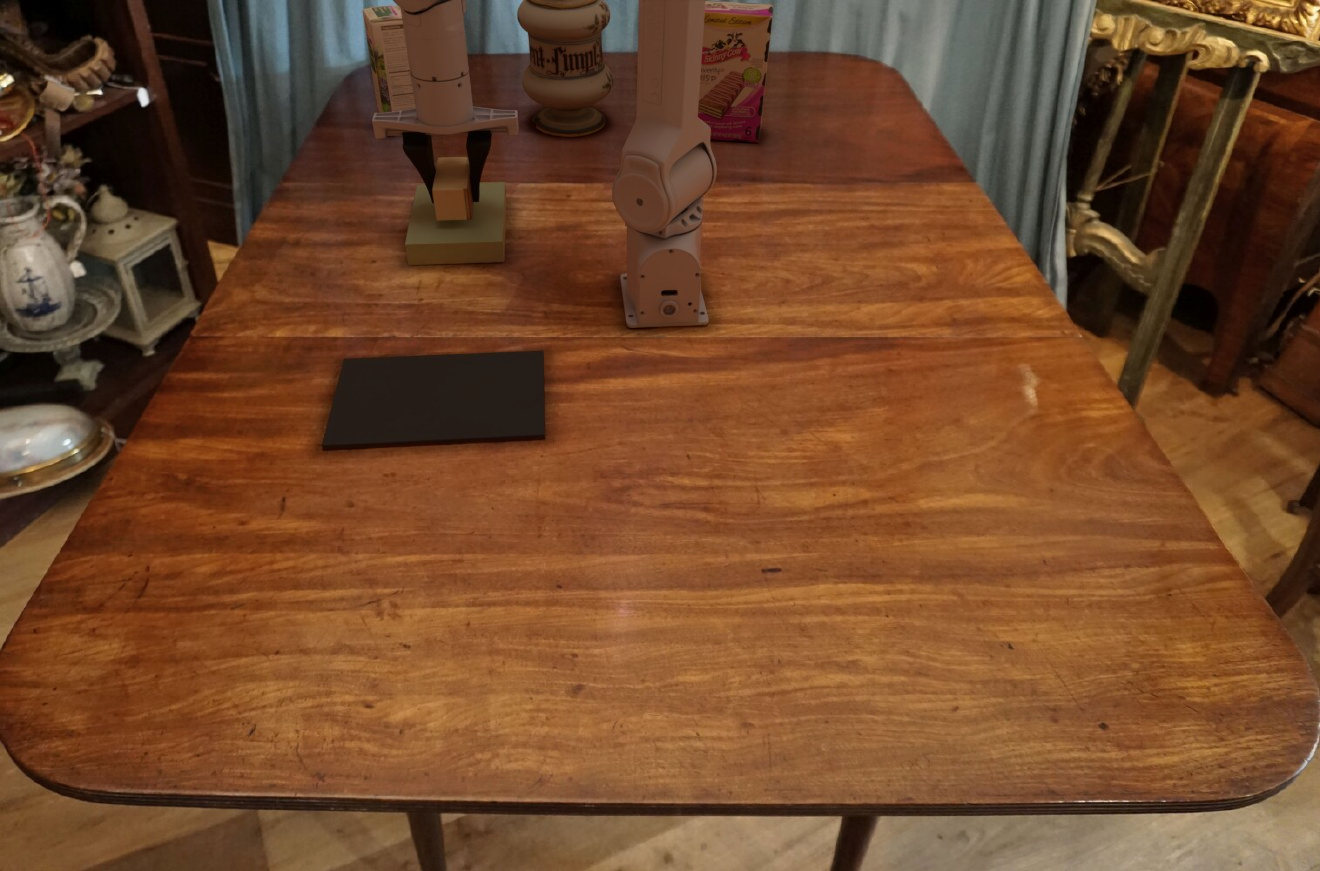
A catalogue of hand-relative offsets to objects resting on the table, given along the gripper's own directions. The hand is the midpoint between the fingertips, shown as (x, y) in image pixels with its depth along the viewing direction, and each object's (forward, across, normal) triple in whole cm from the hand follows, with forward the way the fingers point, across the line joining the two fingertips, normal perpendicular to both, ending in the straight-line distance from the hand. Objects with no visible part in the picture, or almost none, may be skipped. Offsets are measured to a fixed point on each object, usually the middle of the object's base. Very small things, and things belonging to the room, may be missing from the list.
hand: (456, 198), depth 101 cm
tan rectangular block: (0, 0, 0) cm, 1 cm away
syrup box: (+4, +9, -30) cm, 32 cm away
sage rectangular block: (+4, 0, 0) cm, 4 cm away
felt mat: (+4, 0, +30) cm, 30 cm away
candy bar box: (+4, -33, -25) cm, 42 cm away
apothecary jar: (+4, -13, -30) cm, 33 cm away
